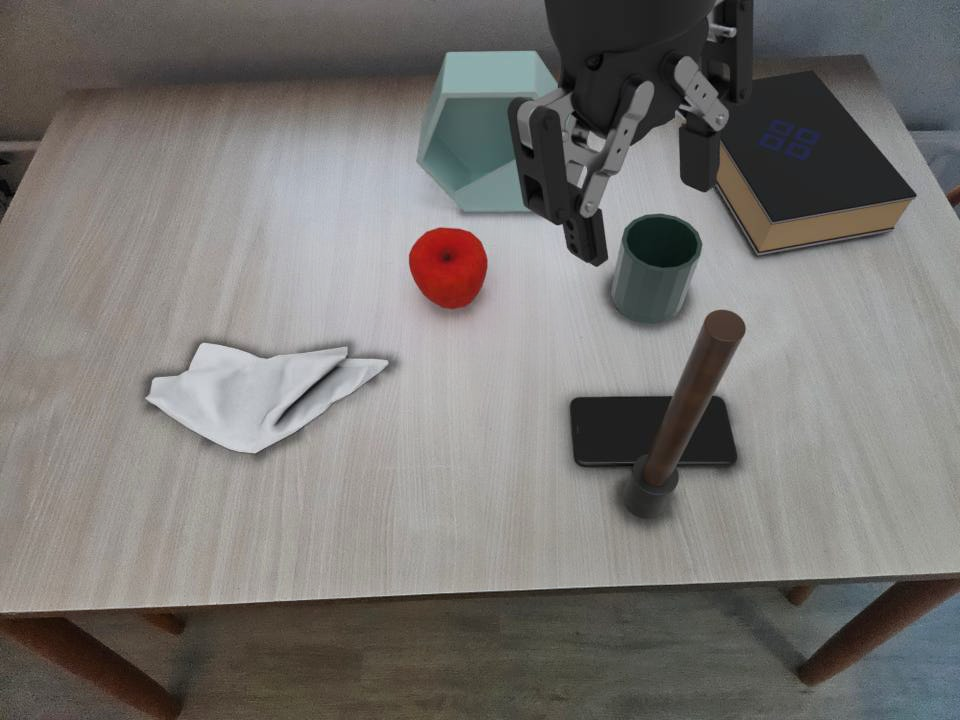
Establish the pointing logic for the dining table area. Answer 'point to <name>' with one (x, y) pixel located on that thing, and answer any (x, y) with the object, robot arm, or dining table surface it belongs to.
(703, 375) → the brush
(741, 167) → the book
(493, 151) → the planter
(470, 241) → the apple
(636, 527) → the dining table surface
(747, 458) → the dining table surface
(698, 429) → the smartphone
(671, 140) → the dining table surface
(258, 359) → the cloth
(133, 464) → the dining table surface
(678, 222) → the green faceted cup
